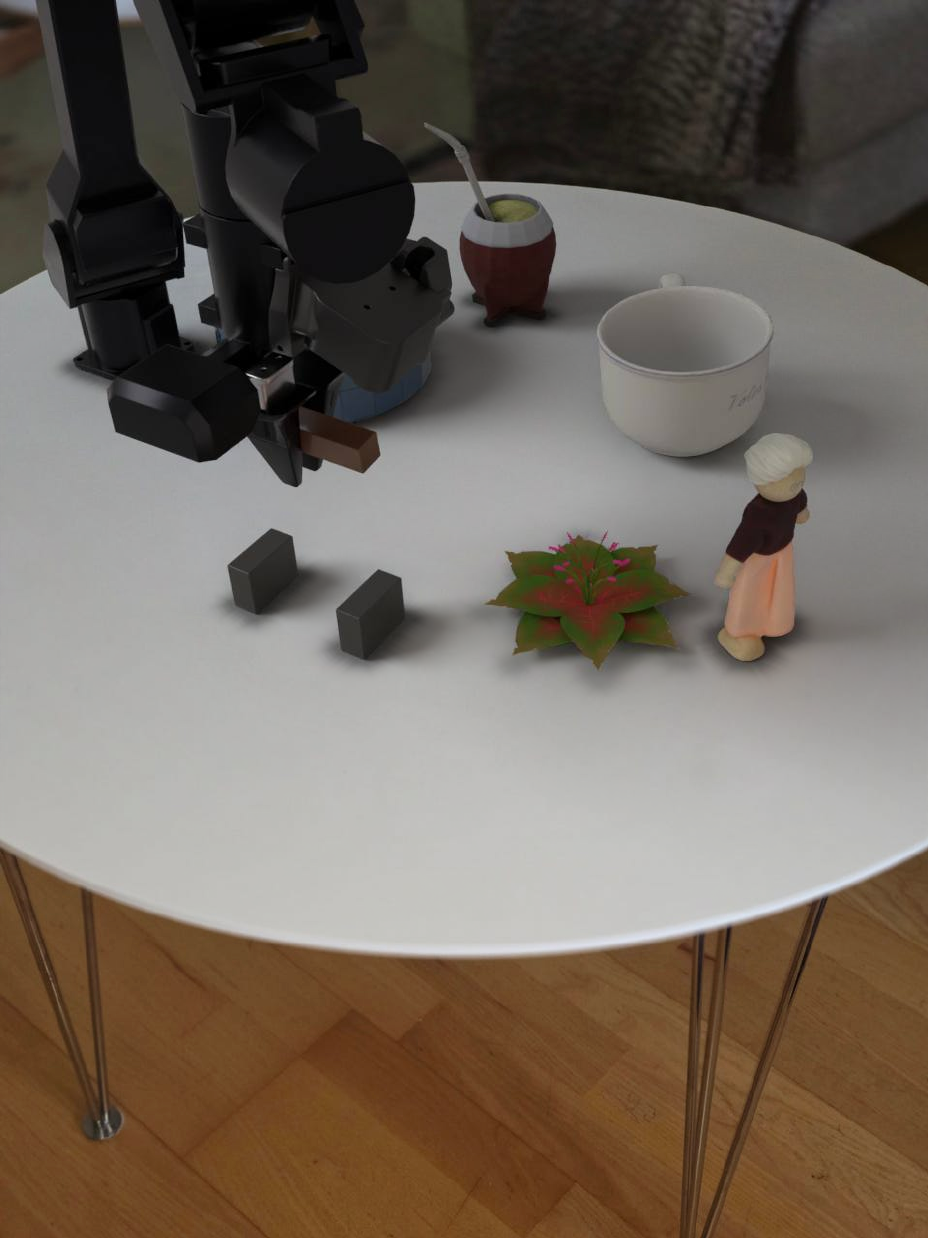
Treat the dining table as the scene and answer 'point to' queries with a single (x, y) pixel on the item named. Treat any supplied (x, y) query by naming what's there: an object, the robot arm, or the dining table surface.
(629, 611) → the red green leafy plant
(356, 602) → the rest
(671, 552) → the dining table surface
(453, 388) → the dining table surface
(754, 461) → the grandmother figurine
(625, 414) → the teacup
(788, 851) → the dining table surface
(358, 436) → the stick
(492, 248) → the mate gourd
